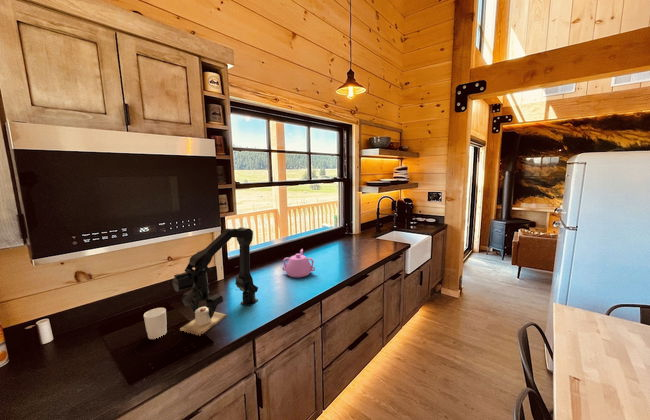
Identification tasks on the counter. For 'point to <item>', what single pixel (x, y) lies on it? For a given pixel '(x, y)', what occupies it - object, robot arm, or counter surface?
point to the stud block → (198, 329)
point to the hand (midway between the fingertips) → (203, 316)
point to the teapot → (298, 265)
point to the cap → (202, 316)
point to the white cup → (155, 322)
